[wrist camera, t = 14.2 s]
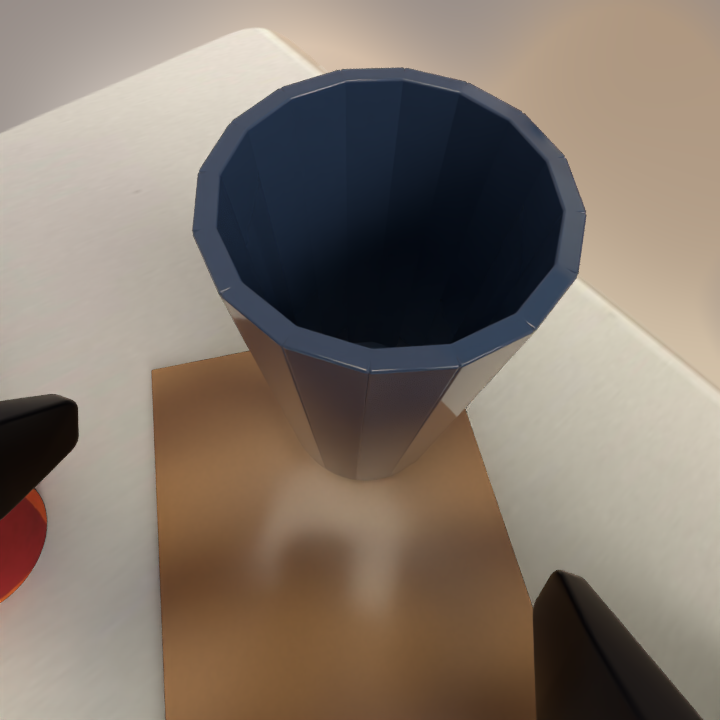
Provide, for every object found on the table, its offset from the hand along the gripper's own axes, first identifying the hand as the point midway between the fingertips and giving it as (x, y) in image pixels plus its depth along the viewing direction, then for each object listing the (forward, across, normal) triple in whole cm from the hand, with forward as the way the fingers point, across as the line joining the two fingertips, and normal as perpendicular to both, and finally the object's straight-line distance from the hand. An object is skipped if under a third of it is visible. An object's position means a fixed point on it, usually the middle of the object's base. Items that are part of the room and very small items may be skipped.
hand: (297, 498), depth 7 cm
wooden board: (+7, -1, +9) cm, 11 cm away
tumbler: (+11, 0, +4) cm, 12 cm away
